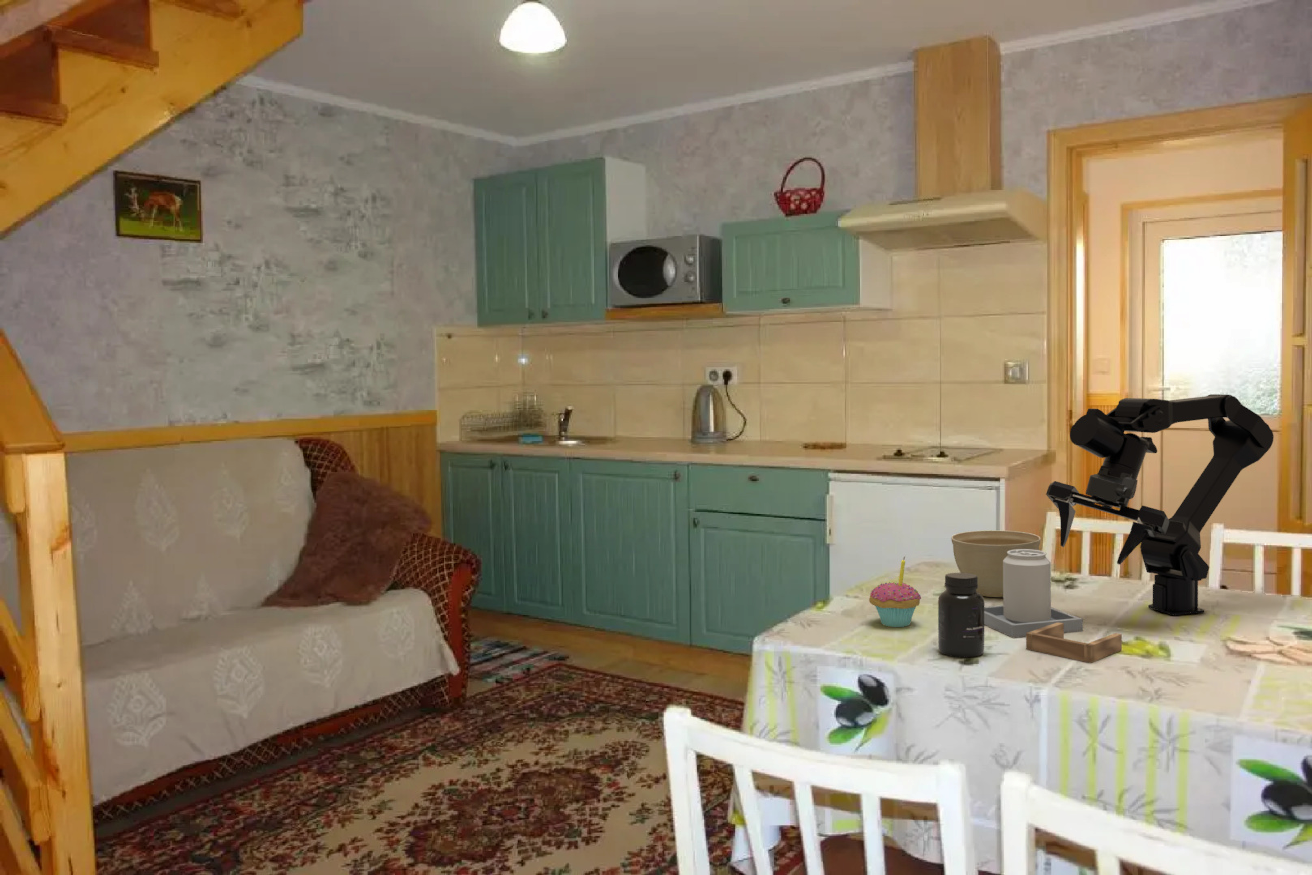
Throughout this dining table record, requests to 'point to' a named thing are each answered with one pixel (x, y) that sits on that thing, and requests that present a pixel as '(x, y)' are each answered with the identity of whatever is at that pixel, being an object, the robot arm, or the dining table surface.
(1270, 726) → the dining table surface
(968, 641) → the supplement bottle
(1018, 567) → the can
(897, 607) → the cupcake
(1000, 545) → the planter bowl
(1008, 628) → the tray
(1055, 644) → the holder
